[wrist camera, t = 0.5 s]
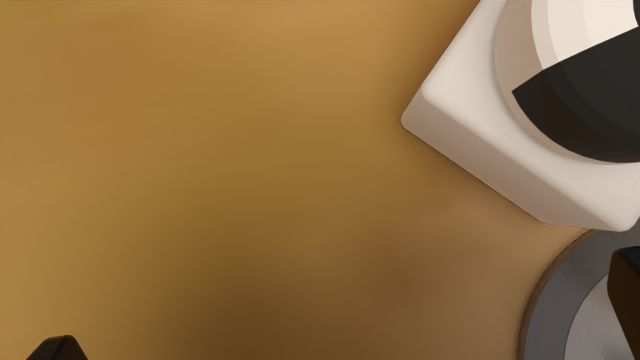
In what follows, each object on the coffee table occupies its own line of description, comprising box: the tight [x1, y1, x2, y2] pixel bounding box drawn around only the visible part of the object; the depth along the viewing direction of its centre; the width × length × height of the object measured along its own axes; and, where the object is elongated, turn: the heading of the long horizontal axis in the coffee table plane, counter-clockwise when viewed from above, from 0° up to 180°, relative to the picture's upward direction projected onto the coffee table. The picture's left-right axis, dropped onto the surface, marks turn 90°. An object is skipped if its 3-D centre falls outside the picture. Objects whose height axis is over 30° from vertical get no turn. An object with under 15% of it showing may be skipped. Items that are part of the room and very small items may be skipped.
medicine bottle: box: [401, 0, 640, 232], centre depth 18 cm, size 7×7×12 cm
